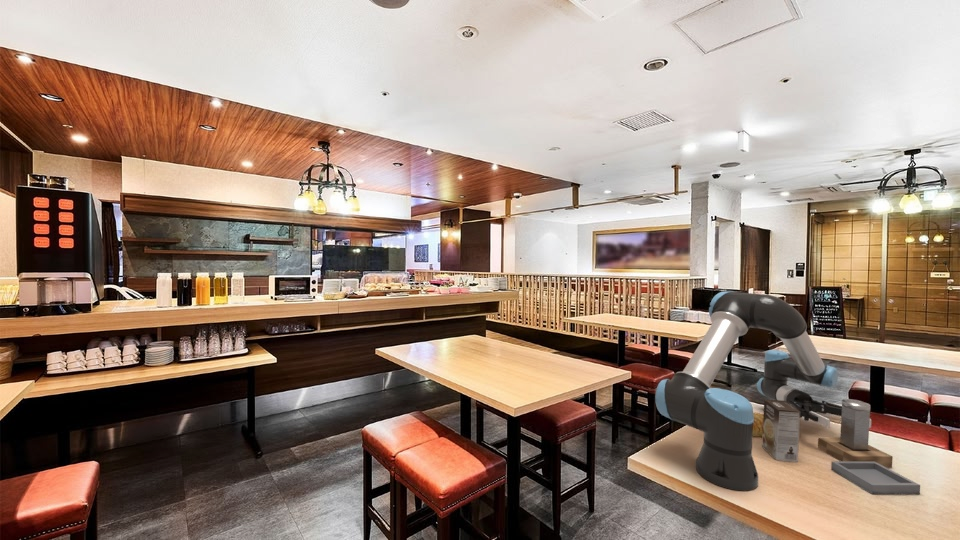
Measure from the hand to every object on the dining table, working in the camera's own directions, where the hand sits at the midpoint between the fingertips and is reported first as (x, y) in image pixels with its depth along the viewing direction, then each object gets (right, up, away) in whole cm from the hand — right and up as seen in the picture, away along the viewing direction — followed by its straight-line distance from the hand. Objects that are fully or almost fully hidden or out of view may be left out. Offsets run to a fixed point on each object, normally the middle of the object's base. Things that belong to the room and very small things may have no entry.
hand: (849, 423), depth 126 cm
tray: (-7, -10, -15) cm, 20 cm away
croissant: (-19, -9, +16) cm, 27 cm away
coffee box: (-23, -10, 0) cm, 25 cm away
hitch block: (-1, -10, -2) cm, 10 cm away
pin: (-1, -10, -2) cm, 10 cm away
